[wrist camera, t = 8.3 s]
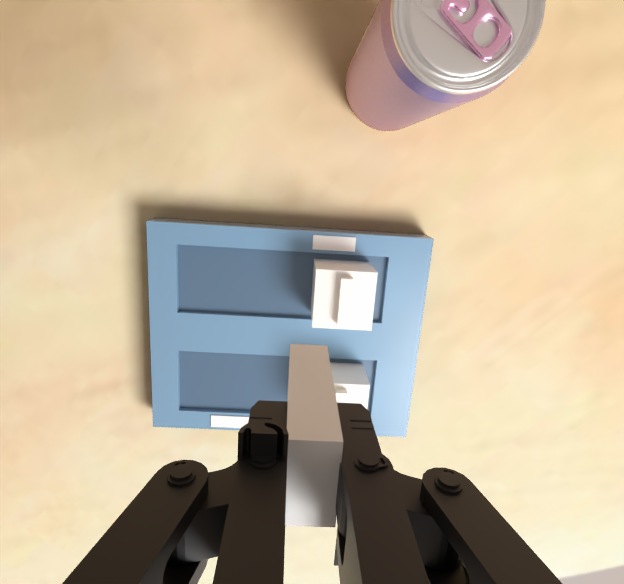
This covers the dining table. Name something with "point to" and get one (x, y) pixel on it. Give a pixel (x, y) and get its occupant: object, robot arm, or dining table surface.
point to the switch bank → (272, 317)
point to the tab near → (343, 294)
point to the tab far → (350, 383)
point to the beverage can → (436, 56)
